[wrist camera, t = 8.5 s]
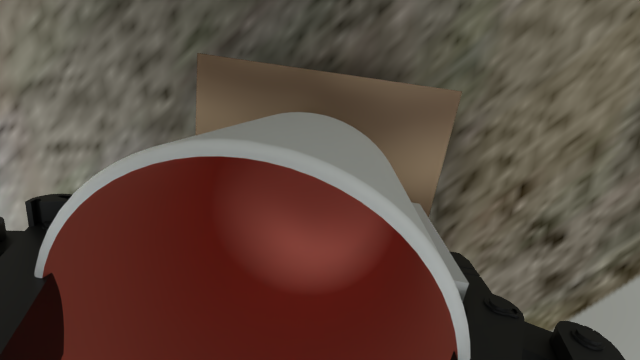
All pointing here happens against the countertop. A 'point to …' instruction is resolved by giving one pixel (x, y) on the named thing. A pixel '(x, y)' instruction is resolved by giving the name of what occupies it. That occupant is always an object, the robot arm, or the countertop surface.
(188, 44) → the countertop surface
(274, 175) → the cup
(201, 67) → the stool
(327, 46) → the countertop surface
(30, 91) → the countertop surface
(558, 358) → the robot arm
